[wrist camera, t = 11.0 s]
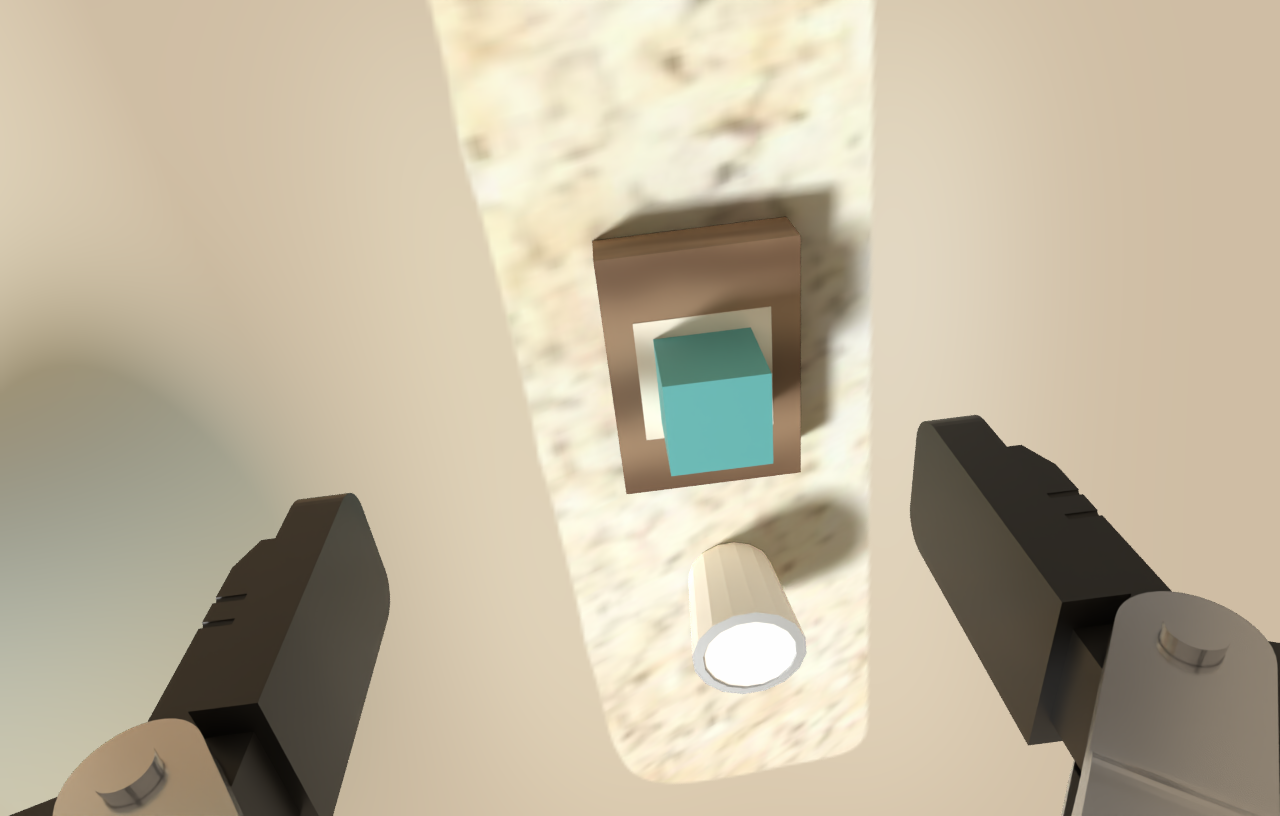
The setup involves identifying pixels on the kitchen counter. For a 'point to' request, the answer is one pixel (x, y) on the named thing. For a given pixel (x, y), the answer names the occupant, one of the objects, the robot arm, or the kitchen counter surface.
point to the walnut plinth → (699, 330)
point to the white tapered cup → (741, 621)
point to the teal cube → (714, 401)
